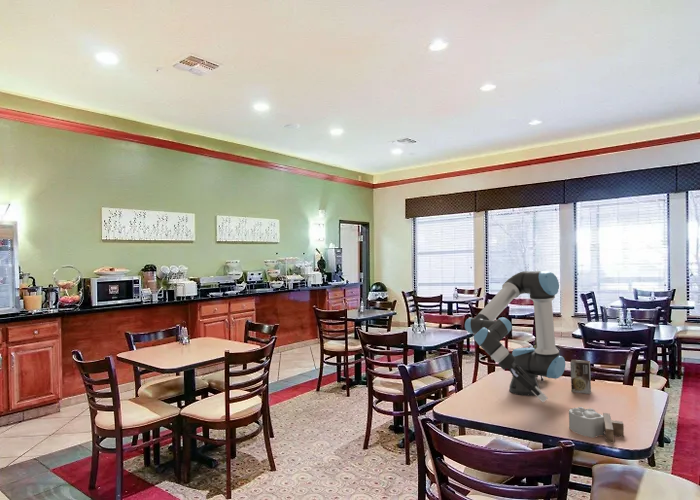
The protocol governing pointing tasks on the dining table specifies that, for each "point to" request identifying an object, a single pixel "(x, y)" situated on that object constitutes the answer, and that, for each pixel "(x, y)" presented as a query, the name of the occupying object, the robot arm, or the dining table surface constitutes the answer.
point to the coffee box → (580, 376)
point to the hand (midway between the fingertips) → (545, 400)
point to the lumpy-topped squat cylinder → (586, 422)
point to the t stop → (612, 428)
